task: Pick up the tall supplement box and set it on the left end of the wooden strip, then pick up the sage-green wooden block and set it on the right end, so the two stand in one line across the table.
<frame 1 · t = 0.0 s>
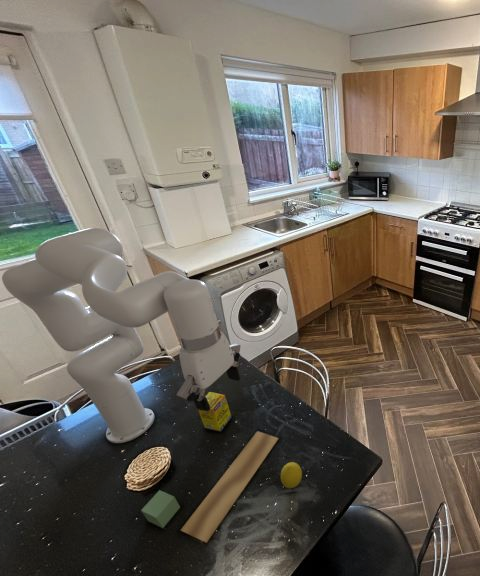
hand: (220, 393, 74), 31 cm above the table, tool pointing down, fingers open, 9 cm apart
green block: (164, 514, 79), on the table
lemon: (293, 484, 86), on the table
wooden strip: (235, 478, 87), on the table
supplement box: (219, 423, 103), on the table
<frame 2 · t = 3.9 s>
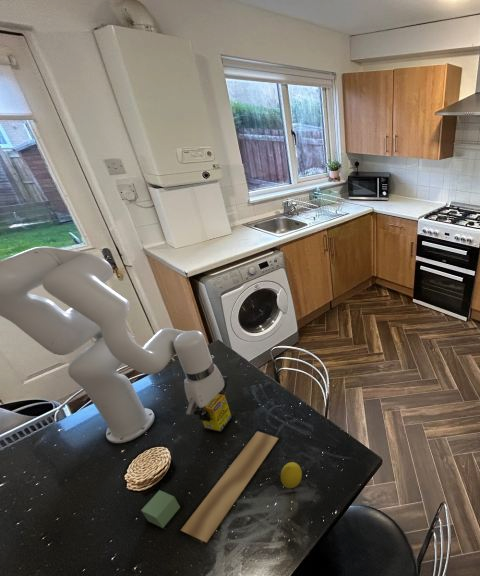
hand: (214, 410, 100), 6 cm above the table, tool pointing down, fingers closed on supplement box, 6 cm apart
supplement box: (219, 423, 103), on the table, touching gripper
everything else where it was.
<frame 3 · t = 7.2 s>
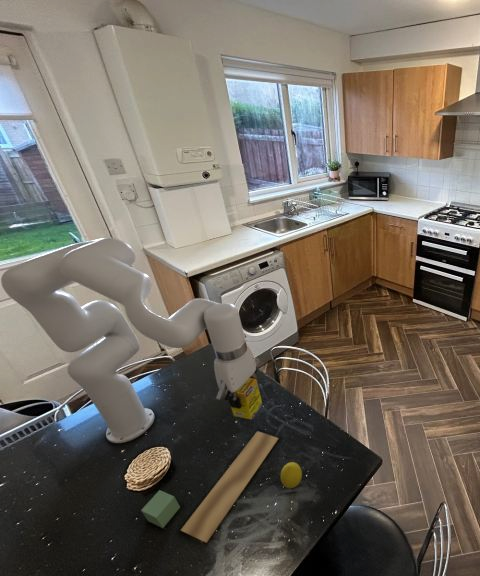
hand: (244, 397, 89), 19 cm above the table, tool pointing down, fingers closed on supplement box, 6 cm apart
supplement box: (249, 411, 92), point 13 cm above the table, touching gripper
everything else where it was.
when the fingers open (6 cm above the table, at t = 10.7 s): supplement box stays where it is, resting on wooden strip.
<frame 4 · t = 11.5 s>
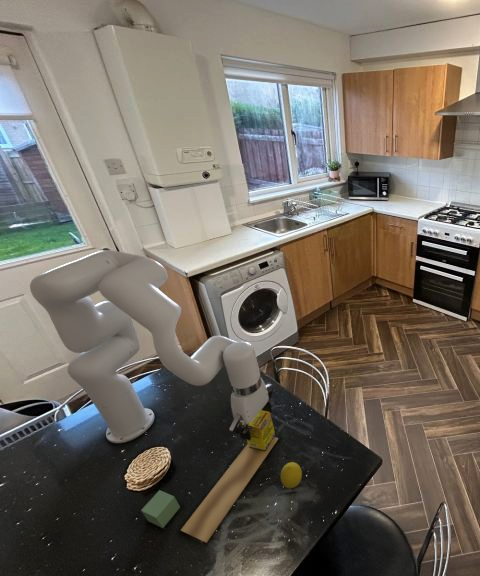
hand: (257, 424, 93), 8 cm above the table, tool pointing down, fingers open, 9 cm apart
supplement box: (262, 441, 97), resting on wooden strip
everything else where it was.
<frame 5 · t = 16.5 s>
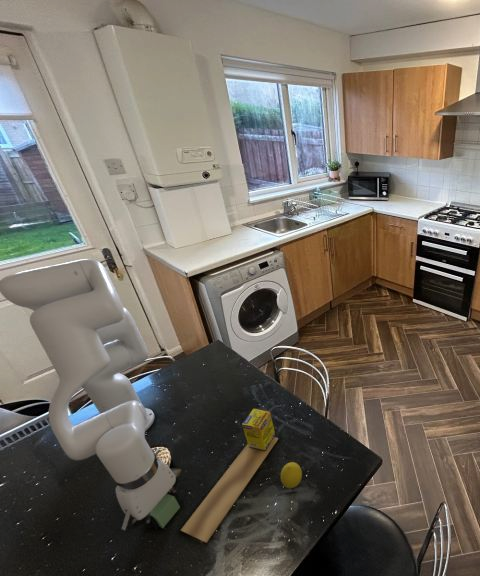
hand: (163, 512, 79), 1 cm above the table, tool pointing down, fingers closed on green block, 5 cm apart
green block: (164, 514, 79), on the table, touching gripper
everything else where it was.
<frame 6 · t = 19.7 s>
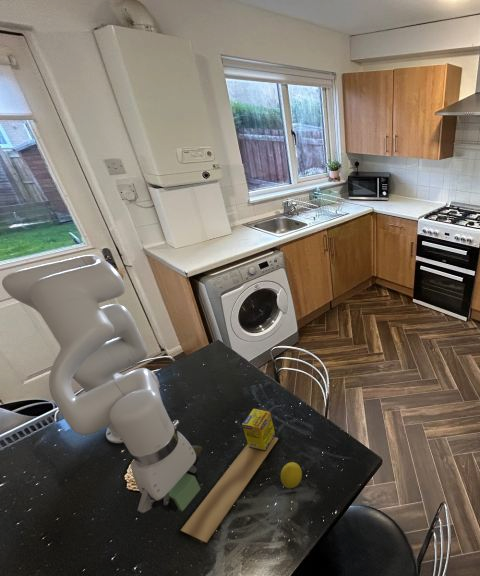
hand: (182, 494, 70), 14 cm above the table, tool pointing down, fingers closed on green block, 5 cm apart
green block: (183, 496, 71), point 13 cm above the table, touching gripper
everything else where it was.
when the fingers open (1 cm above the table, at t = 23.0 s): green block stays where it is, resting on wooden strip.
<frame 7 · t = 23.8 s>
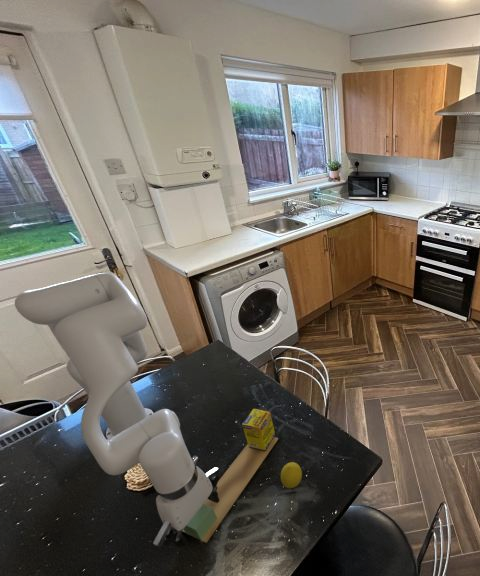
hand: (198, 520, 76), 2 cm above the table, tool pointing down, fingers open, 9 cm apart
green block: (201, 525, 77), resting on wooden strip
everything else where it was.
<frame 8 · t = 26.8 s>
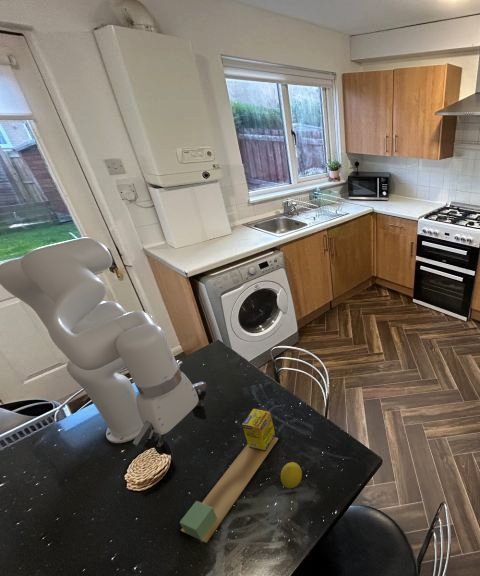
hand: (184, 433, 72), 24 cm above the table, tool pointing down, fingers open, 9 cm apart
nothing on the table moved.
at the end: supplement box 0.1 cm from the target spot, resting on wooden strip; green block 0.1 cm from the target spot, resting on wooden strip; supplement box tilted 0° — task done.
